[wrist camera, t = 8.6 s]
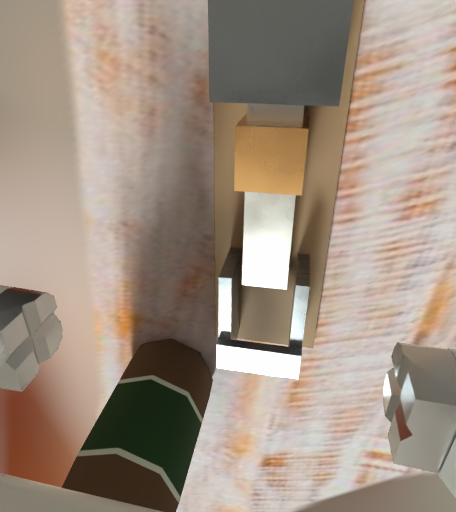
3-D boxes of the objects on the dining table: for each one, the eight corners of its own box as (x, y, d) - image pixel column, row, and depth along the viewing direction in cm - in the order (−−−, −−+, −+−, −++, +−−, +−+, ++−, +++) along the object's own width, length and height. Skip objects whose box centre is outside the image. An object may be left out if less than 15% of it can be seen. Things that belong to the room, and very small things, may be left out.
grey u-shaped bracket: (309, 254, 26) (309, 293, 22) (299, 336, 30) (298, 382, 26) (230, 247, 27) (216, 283, 23) (229, 327, 30) (216, 370, 26)
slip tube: (317, 30, 20) (319, 27, 16) (293, 267, 27) (290, 307, 23) (251, 29, 20) (236, 27, 17) (243, 262, 27) (232, 300, 23)
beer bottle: (170, 321, 33) (-74, 809, 12) (232, 380, 34) (115, 888, 14) (114, 360, 36) (-150, 790, 15) (174, 411, 38) (10, 855, 17)
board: (364, -16, 20) (367, -19, 19) (312, 339, 31) (313, 348, 30) (216, -14, 21) (212, -17, 20) (218, 327, 32) (215, 335, 31)
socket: (344, 6, 19) (354, -4, 15) (333, 93, 21) (339, 106, 17) (229, 7, 20) (208, -2, 16) (228, 90, 22) (209, 102, 18)
